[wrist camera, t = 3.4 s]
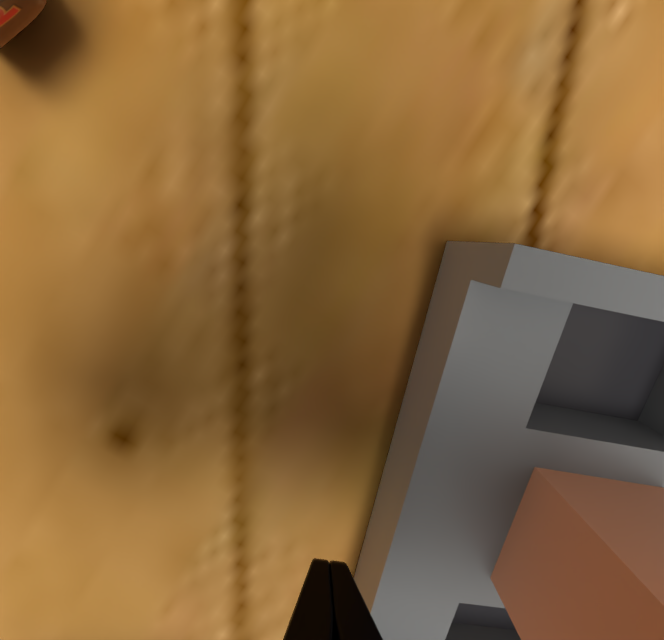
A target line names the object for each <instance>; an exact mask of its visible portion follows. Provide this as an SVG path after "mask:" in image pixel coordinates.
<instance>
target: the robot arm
mask: <svg viewBox="0 0 664 640" xmlns="http://www.w3.org/2000/svg"><path fill="white" fill-rule="evenodd" d="M283 640H383V639H382V636H381V634H380V632H379V630H378V628H377V626H376V624H375V622H374V620H373V618H372V616H371V614H370V612H369V610H368V608H367V606H366V603H365V601H364V599H363V597H362V595H361V593H360V591H359V589H358V587H357V585H356V583H355V581H354V579H353V577H352V575H351V572H350V570H349V568H348V566H347V565H346V563H344V562H339V561H330V562H328V560H324V559H316V558H315V559H313V560H312V562H311V565H310V568H309V570H308V573H307V576H306V578H305V581H304V584H303V587H302V589H301V592H300V595H299V597H298V600H297V603H296V606H295V608H294V611H293V614H292V617H291V619H290V622H289V625H288V627H287V630H286V633H285V636H284V638H283Z"/></svg>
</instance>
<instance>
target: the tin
mask: <svg viewBox="0 0 664 640" xmlns="http://www.w3.org/2000/svg"><path fill="white" fill-rule="evenodd" d="M46 1H47V0H0V48H2V47H3V46H4V45H5V44H6V43H7V42H9V41H10V40H11V39H12V38H13V37H15V36H16V35H17V34H18V33H19V32H20V31H22V30H23V29H24V28H25V27H26V26H27V25H29V24H30V23H31V22H32V21H33V20H34V19H35V18H36V17H37V16H38V14H39V13H40V12H41V11H42V10H43V8H44V6H45V4H46Z"/></svg>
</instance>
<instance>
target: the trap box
mask: <svg viewBox="0 0 664 640" xmlns="http://www.w3.org/2000/svg"><path fill="white" fill-rule="evenodd" d="M534 467H538V468H544V469H550V470H557V471H563V472H569V473H575V474H582V475H588V476H594V477H600V478H607V479H613V480H619V481H625V482H631V483H638V484H644V485H650V486H656V487H663V488H664V276H661V275H657V274H652V273H648V272H643V271H639V270H634V269H629V268H625V267H620V266H616V265H611V264H607V263H602V262H597V261H593V260H588V259H584V258H579V257H574V256H570V255H565V254H561V253H556V252H552V251H547V250H542V249H538V248H533V247H529V246H524V245H520V244H515V243H489V242H462V241H447V243H446V247H445V250H444V254H443V258H442V261H441V265H440V268H439V272H438V276H437V279H436V283H435V286H434V290H433V294H432V297H431V301H430V304H429V308H428V312H427V315H426V319H425V322H424V326H423V330H422V333H421V337H420V341H419V344H418V348H417V351H416V355H415V359H414V362H413V366H412V369H411V373H410V377H409V380H408V384H407V387H406V391H405V395H404V398H403V402H402V405H401V409H400V413H399V416H398V420H397V423H396V427H395V431H394V434H393V438H392V441H391V445H390V449H389V452H388V456H387V459H386V463H385V467H384V470H383V474H382V478H381V481H380V485H379V488H378V492H377V496H376V499H375V503H374V506H373V510H372V514H371V517H370V521H369V524H368V528H367V532H366V535H365V539H364V542H363V546H362V550H361V553H360V557H359V560H358V564H357V568H356V571H355V575H354V578H353V579H354V581H355V583H356V585H357V587H358V589H359V591H360V593H361V595H362V597H363V599H364V601H365V603H366V606H367V608H368V610H369V612H370V614H371V616H372V618H373V620H374V622H375V624H376V626H377V628H378V630H379V632H380V634H381V636H382V639H383V640H521V639H520V637H519V635H518V633H517V631H516V629H515V627H514V625H513V623H512V621H511V619H510V617H509V615H508V613H507V611H506V608H505V606H504V604H503V602H502V600H501V598H500V596H499V594H498V592H497V590H496V588H495V586H494V584H493V582H492V580H491V578H490V577H491V575H492V572H493V570H494V567H495V565H496V562H497V560H498V557H499V555H500V552H501V550H502V547H503V545H504V542H505V540H506V537H507V535H508V532H509V530H510V527H511V525H512V522H513V520H514V517H515V515H516V512H517V510H518V507H519V505H520V502H521V500H522V497H523V495H524V492H525V490H526V487H527V485H528V482H529V480H530V477H531V475H532V472H533V470H534Z"/></svg>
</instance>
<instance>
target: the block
mask: <svg viewBox="0 0 664 640" xmlns="http://www.w3.org/2000/svg"><path fill="white" fill-rule="evenodd" d="M490 578H491V580H492V582H493V584H494V586H495V588H496V590H497V592H498V594H499V596H500V598H501V600H502V602H503V604H504V606H505V608H506V611H507V613H508V615H509V617H510V619H511V621H512V623H513V625H514V627H515V629H516V631H517V633H518V635H519V637H520V639H521V640H664V488H663V487H656V486H650V485H644V484H638V483H631V482H625V481H619V480H613V479H607V478H600V477H594V476H588V475H582V474H575V473H569V472H563V471H557V470H550V469H544V468H538V467H534V470H533V472H532V475H531V477H530V480H529V482H528V485H527V487H526V490H525V492H524V495H523V497H522V500H521V502H520V505H519V507H518V510H517V512H516V515H515V517H514V520H513V522H512V525H511V527H510V530H509V532H508V535H507V537H506V540H505V542H504V545H503V547H502V550H501V552H500V555H499V557H498V560H497V562H496V565H495V567H494V570H493V572H492V575H491V577H490Z"/></svg>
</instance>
